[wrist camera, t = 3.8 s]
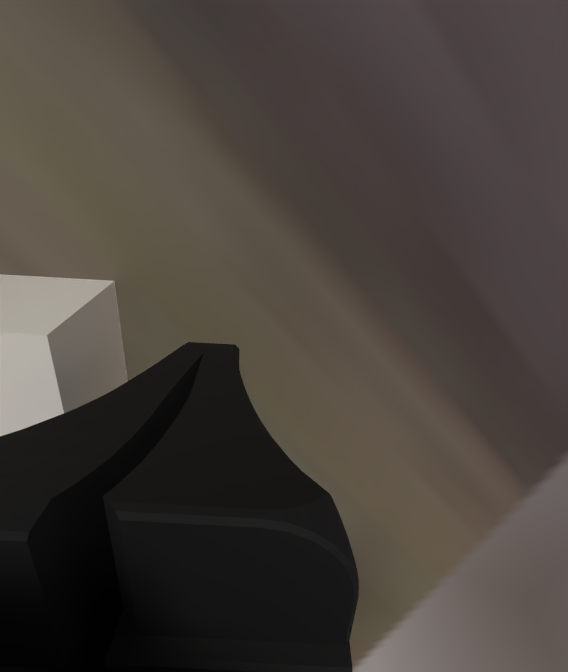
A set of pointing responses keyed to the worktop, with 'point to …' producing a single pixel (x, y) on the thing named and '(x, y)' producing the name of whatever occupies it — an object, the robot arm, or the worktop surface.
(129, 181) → the worktop surface
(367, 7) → the worktop surface
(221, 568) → the robot arm
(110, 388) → the bar
